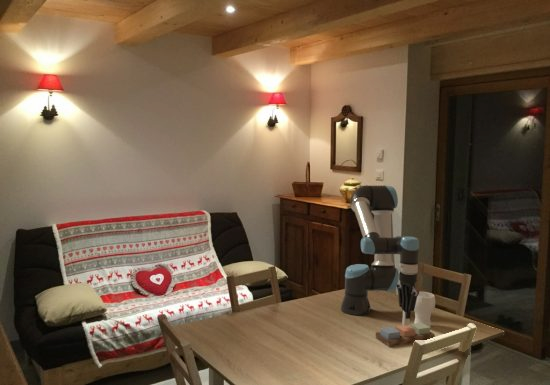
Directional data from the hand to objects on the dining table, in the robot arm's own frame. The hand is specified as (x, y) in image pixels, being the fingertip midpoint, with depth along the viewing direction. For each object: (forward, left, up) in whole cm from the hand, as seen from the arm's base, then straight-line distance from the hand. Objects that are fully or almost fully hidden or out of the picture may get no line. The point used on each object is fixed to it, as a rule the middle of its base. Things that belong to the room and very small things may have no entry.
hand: (405, 324), depth 214 cm
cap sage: (0, +8, -5) cm, 9 cm away
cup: (-11, +18, -7) cm, 22 cm away
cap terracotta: (0, 0, -5) cm, 5 cm away
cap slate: (0, -8, -5) cm, 9 cm away
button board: (0, 0, -7) cm, 7 cm away
